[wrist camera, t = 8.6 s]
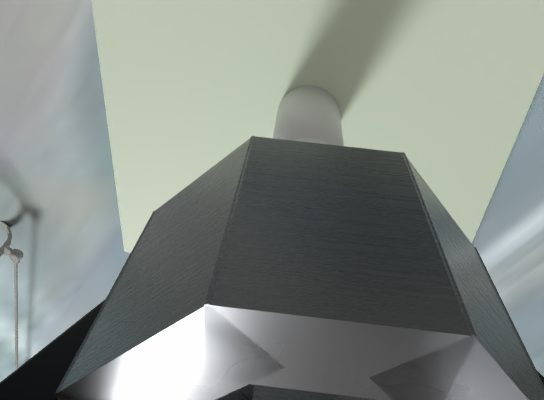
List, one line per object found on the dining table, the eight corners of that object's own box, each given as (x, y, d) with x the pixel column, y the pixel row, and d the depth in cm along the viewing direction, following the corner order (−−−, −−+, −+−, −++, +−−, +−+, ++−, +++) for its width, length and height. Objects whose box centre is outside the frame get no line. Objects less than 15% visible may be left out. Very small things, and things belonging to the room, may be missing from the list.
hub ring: (512, 163, 8) (669, 357, 4) (415, 387, 11) (459, 589, 8) (146, 123, 8) (19, 280, 4) (164, 357, 11) (101, 543, 8)
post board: (602, -117, 13) (825, -141, 8) (445, 272, 22) (493, 400, 16) (86, -167, 14) (-82, -227, 8) (132, 236, 23) (69, 350, 17)
